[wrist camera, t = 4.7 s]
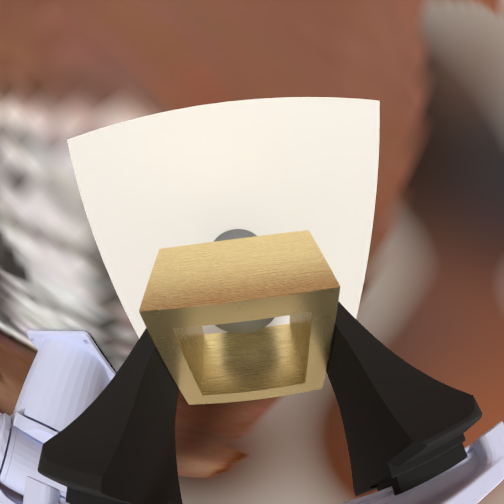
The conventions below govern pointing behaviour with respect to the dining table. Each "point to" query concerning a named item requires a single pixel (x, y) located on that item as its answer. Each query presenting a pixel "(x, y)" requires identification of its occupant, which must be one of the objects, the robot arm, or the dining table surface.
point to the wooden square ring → (243, 316)
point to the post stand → (232, 186)
